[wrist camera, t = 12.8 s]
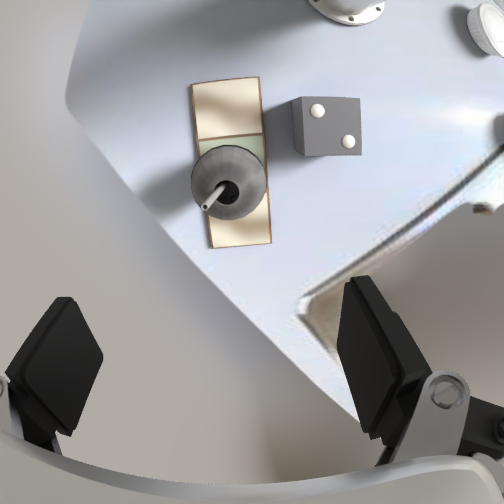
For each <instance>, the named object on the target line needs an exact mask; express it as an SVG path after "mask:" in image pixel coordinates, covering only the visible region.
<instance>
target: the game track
mask: <svg viewBox="0 0 504 504" xmlns="http://www.w3.org/2000/svg"><path fill="white" fill-rule="evenodd" d="M190 85H191V95H192V105H193V114H194V123H195V132H196V140H197V148H198V156H199V158H200V157H201V156H202V155H203V154H204V153H206V152H207V151H209V150H210V149H211V148H214V147H218V146H221V145H238V146H241V147H243V148H246V149H248V150H250V151H251V152H252V153H254V154H255V155H256V156H257V157H258V158H259V159H260V161H261V162H262V164H263V165H264V168H265V171H266V175H267V189H266V192H265V194H264V197H263V199H262V201H261V202H260V204H259V205H258V206H257V207H256V208H255V210H254V211H253V212H251V213H250V214H248V215H247V216H245V217H243V218H239V219H236V220H220V219H217V218H214V217H211V216H210V215H208V214H207V213H206V214H207V221H208V228H209V234H210V240H211V247H212V249H213V248H225V247H236V246H247V245H258V244H270V243H272V234H271V218H270V203H269V188H268V174H267V160H266V147H265V134H264V122H263V110H262V99H261V87H260V77H245V78H234V79H225V80H216V81H209V82H202V83H195V84H190Z"/></svg>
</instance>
